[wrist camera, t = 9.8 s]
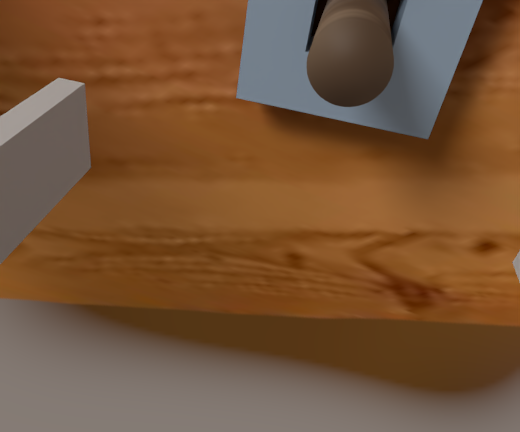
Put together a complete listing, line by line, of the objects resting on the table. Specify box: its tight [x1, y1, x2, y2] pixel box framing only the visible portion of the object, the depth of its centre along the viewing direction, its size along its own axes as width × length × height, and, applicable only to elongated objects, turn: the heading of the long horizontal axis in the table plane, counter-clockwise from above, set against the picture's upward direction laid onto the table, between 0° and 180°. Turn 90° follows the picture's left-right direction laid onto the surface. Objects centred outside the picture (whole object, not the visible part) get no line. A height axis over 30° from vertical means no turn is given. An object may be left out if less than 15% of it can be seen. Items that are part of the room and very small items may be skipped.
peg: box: [307, 0, 394, 107], centre depth 28 cm, size 4×4×14 cm
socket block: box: [236, 0, 483, 139], centre depth 32 cm, size 14×14×4 cm
